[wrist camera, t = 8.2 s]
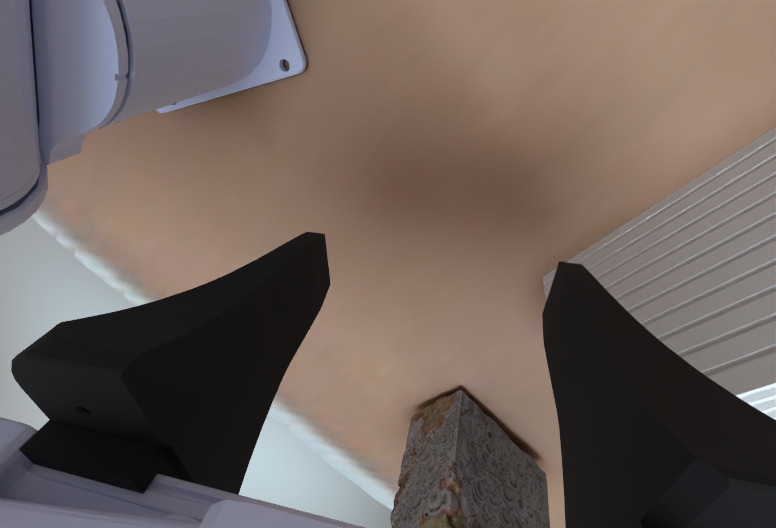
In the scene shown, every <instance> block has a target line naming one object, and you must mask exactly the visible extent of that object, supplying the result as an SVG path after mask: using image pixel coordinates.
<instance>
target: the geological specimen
mask: <svg viewBox="0 0 776 528" xmlns="http://www.w3.org/2000/svg"><path fill="white" fill-rule="evenodd" d="M398 485H399V487H400V488H399V491H398V492H397V494H396V495H395V499H394V508H393V511H392V513H391V524H392V528H550V521H549V507H548V491H547V479H546V473H544V472H543V471H542V470H541V469H540V468H539V466H538V465H537V464H536V463H535V461H534V460H533V458H532V457H531V456H530V455H528V454H526V453H525V452H523V451H521V450H520V448H519V447H518V446H516V445H515V444H514V443H513V442H512V441H511V439H510V438H509V437H508V436H507V434H506V433H505V432H504V431H503V429H501V428H500V427H499V425H498V424H497V423H496V422H495V421H494V420H493V419H492V418H490V417H488V416H487V415H485V414H484V413H483V412H482V410H481V408H480V407H479V406H478V405H477V404H475V403H474V402H473V401H472V400H471V399H469V397H468V396H467V395H466V394H465V393H464V392H463V391H462V390H459V391H456V392H455V393H454V394H452V395H450V396H446V397H441V398H440V399H438V400H437V401H435V403H434V404H430V405H429V406H428V407H426V408H424V409H422V410H421V411H420V412H418V413H417V414H415V415H414V416H413V417H412V419H411V424H410V428H409V433H408V438H407V444H406V450H405V452H404V455H403V460H402V465H401V473H400V477H399V481H398Z"/></svg>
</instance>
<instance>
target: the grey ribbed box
mask: <svg viewBox="0 0 776 528" xmlns="http://www.w3.org/2000/svg"><path fill="white" fill-rule="evenodd" d="M566 262H567V263H576V264H582V265H583V266H584V267H585V268H586V269H587V270H588V271H589V272H590V273H591V274H592V275H593V276H594V277H595V278H596V279H597V280H598V282H599V283H600V284H601V285H602V286H603V287H604V288H605V289H606V290H607V291H608V292H609V293H610V294H611V295H612V296H613V297H614V298H615V299H616V300H617V301H618V302H619V303H620V304H621V305H622V306H623V307H624V308H625V309H626V310H627V311H628V312H629V313H630V314H631V315H632V316H633V317H634V318H635V319H636V320H637V321H638V322H639V323H640V324H642V325H643V326H644V327H645V328H646V329H647V330H648V331H649V332H651V333H652V334H653V335H654V336H655V337H656V338H657V339H659V340H660V341H661V342H662V343H663V344H665V345H666V346H667V347H668V348H670V349H671V350H672V351H673V352H675V353H676V354H677V355H679V356H680V357H681V358H682V359H684V360H685V361H686V362H688V363H689V364H690V365H692V366H693V367H694V368H696V369H697V370H699V371H700V372H701V373H703V374H704V375H706V376H707V377H708V378H710V379H711V380H713V381H714V382H716V383H717V384H719V385H720V386H722V387H723V388H725V389H726V390H728V391H729V392H731V393H732V394H734V395H735V396H737V397H738V398H740V399H742V400H743V401H745V402H747V403H748V404H750V405H751V406H753V407H755V408H756V409H758V410H759V411H761V412H763V413H764V414H766V415H768V416H770V417H771V418H773V419H775V420H776V127H774V128H773V129H771V130H769V131H768V132H766V133H765V134H763V135H762V136H760V137H759V138H757V139H756V140H754V141H752V142H751V143H749V144H748V145H746V146H745V147H743V148H742V149H740V150H738V151H737V152H735V153H734V154H732V155H731V156H729V157H728V158H726V159H724V160H723V161H721V162H720V163H718V164H717V165H715V166H714V167H712V168H710V169H709V170H707V171H706V172H704V173H703V174H701V175H700V176H698V177H696V178H695V179H693V180H692V181H690V182H689V183H687V184H686V185H684V186H683V187H681V188H679V189H678V190H676V191H675V192H673V193H672V194H670V195H669V196H667V197H665V198H664V199H662V200H661V201H659V202H658V203H656V204H655V205H653V206H651V207H650V208H648V209H647V210H645V211H644V212H642V213H641V214H639V215H637V216H636V217H634V218H633V219H631V220H630V221H628V222H627V223H625V224H624V225H622V226H620V227H619V228H617V229H616V230H614V231H613V232H611V233H610V234H608V235H606V236H605V237H603V238H602V239H600V240H599V241H597V242H596V243H594V244H592V245H591V246H589V247H588V248H586V249H585V250H583V251H582V252H580V253H578V254H577V255H575V256H574V257H572V258H571V259H569V260H568V261H566ZM556 270H557V268H555V269H554V270H552V271H551V272H549V273H547V274H546V275H544V276H543V277H542V280H543V284H544V285H545V286H544V291H545V295H546V296H547V297H546V301H547V298H548V295H549V292H550V289H551V286H552V282H553V279H554V276H555V273H556Z"/></svg>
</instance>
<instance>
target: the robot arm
mask: <svg viewBox="0 0 776 528" xmlns="http://www.w3.org/2000/svg"><path fill="white" fill-rule="evenodd" d="M284 59H285V60H287V61H288V62H289V65H290V68H289V70H287V69H285V68H284V66H283V61H284ZM306 64H307V63H306V58H305V55H304V52H303V49H302V46H301V43H300V40H299V37H298V34H297V31H296V28H295V25H294V22H293V19H292V16H291V13H290V10H289V7H288V4H287V1H286V0H0V235H3V234H4V233H7V232H9V231H11V230H12V229H14V228H15V227H17V226H19V225H20V224H22V223H24V222H25V221H26V220H27V219H28V218H29V217H31V216H32V215H33V214H34V213H35V212H36V211H37V209H38V208H39V207H40V205H41V204H42V202H43V201H44V198H45V195H46V192H47V189H48V174H47V166H46V165H49V164H51V163H54V162H57V161H59V160H62V159H65V158H67V157H70V156H73V155H75V154H78V153H80V152H81V148H82V142H83V140H84V138H85V137H86V136H87V134H89V133H90V132H92V131H94V130H96V129H100V128H103V127H106V126H109V125H112V124H115V123H118V122H121V121H124V120H127V119H129V118H132V117H135V116H138V115H141V114H144V113H147V112H150V111H153V110H156V111H157V112H159V113H166V112H170V111H173V110H177V109H180V108H183V107H187V106H190V105H194V104H197V103H201V102H204V101H207V100H211V99H214V98H218V97H221V96H225V95H228V94H231V93H235V92H238V91H242V90H245V89H249V88H252V87H255V86H259V85H262V84H266V83H269V82H272V81H276V80H279V79H283V78H286V77H290V76H293V75H296V74H299V73H301V72H303V71H304V70H305V68H306ZM329 286H330V276H329V267H328V259H327V250H326V241H325V234H321V233H313V232H306V233H304V234H302V235H300V236H298V237H296V238H294V239H292V240H290V241H289V242H287V243H285V244H283V245H282V246H280V247H278V248H276V249H275V250H273V251H271V252H269V253H267V254H266V255H264V256H262V257H260V258H259V259H257V260H255V261H253V262H251V263H249V264H247V265H245V266H243V267H241V268H239V269H237V270H235V271H233V272H231V273H229V274H227V275H225V276H223V277H220V278H218V279H216V280H213V281H211V282H209V283H206V284H204V285H201V286H199V287H196V288H193V289H191V290H188V291H185V292H182V293H179V294H176V295H173V296H170V297H167V298H164V299H161V300H158V301H154V302H151V303H147V304H144V305H140V306H136V307H132V308H129V309H124V310H120V311H116V312H112V313H107V314H102V315H97V316H92V317H87V318H82V319H77V320H72V321H66V322H61V323H59V324H58V325H56V326H55V327H54V328H53V329H51V330H50V331H49V332H47V333H46V334H45V335H43V336H42V337H41V338H39V339H38V340H37V341H35V342H34V343H33V344H31V345H30V346H29V347H27V348H26V349H25V350H23V351H22V352H21V353H19V354H18V355H17V356H16V357H15V358H14V359H13V360H12V369H11V371H12V374H13V376H14V378H15V380H16V381H17V382H18V384H19V385H20V387H21V388H22V389H23V390H24V391H25V392H26V394H28V396H29V397H30V398H31V399H32V400H33V401H34V402H35V404H36V405H37V406H38V407H39V408H40V409H41V410H42V412H43V413H44V414H45V415H46V416H47V417H48V418H49V419H50V420H49V421H48V422H47V423H46V424H45V425H44V426H43V427H42V428H41V429H40V430H39V431H37V430H36V429H34V428H33V427H31V426H29V425H27V424H24V423H20V422H16V421H12V420H8V419H5V418H1V417H0V528H364V527H361V526H357V525H353V524H349V523H345V522H342V521H338V520H334V519H330V518H326V517H322V516H319V515H314V514H311V513H307V512H303V511H299V510H295V509H292V508H288V507H284V506H280V505H276V504H273V503H269V502H265V501H261V500H256V499H252V498H249V497H245V496H241V495H238V494H239V491H240V488H241V485H242V482H243V479H244V476H245V473H246V470H247V467H248V464H249V461H250V459H251V456H252V453H253V451H254V448H255V445H256V442H257V440H258V437H259V434H260V432H261V429H262V426H263V424H264V421H265V419H266V417H267V414H268V412H269V409H270V407H271V404H272V402H273V399H274V397H275V395H276V392H277V390H278V388H279V385H280V383H281V381H282V378H283V376H284V374H285V372H286V370H287V368H288V366H289V364H290V362H291V360H292V359H293V357H294V355H295V353H296V352H297V350H298V348H299V346H300V345H301V343H302V341H303V339H304V338H305V336H306V334H307V332H308V331H309V329H310V327H311V325H312V324H313V322H314V320H315V318H316V316H317V315H318V313H319V311H320V309H321V307H322V304H323V302H324V299H325V297H326V294H327V291H328V289H329ZM543 337H544V347H545V352H546V357H547V363H548V368H549V373H550V378H551V383H552V388H553V393H554V398H555V403H556V408H557V414H558V421H559V429H560V441H561V453H562V467H563V482H564V499H565V523H566V528H776V420H775V419H773V418H771V417H770V416H768V415H766V414H764V413H763V412H761V411H759V410H758V409H756V408H755V407H753V406H751V405H750V404H748V403H747V402H745V401H743V400H742V399H740V398H738V397H737V396H735V395H734V394H732V393H731V392H729V391H728V390H726V389H725V388H723V387H722V386H720V385H719V384H717V383H716V382H714V381H713V380H711V379H710V378H708V377H707V376H706V375H704V374H703V373H701V372H700V371H699V370H697V369H696V368H694V367H693V366H692V365H690V364H689V363H688V362H686V361H685V360H684V359H682V358H681V357H680V356H679V355H677V354H676V353H675V352H673V351H672V350H671V349H670V348H668V347H667V346H666V345H665V344H663V343H662V342H661V341H660V340H659V339H657V338H656V337H655V336H654V335H653V334H652V333H651V332H649V331H648V330H647V329H646V328H645V327H644V326H643V325H642V324H640V323H639V322H638V321H637V320H636V319H635V318H634V317H633V316H632V315H631V314H630V313H629V312H628V311H627V310H626V309H625V308H624V307H623V306H622V305H621V304H620V303H619V302H618V301H617V300H616V299H615V298H614V297H613V296H612V295H611V294H610V293H609V292H608V291H607V290H606V289H605V288H604V287H603V286H602V285H601V284H600V283H599V282H598V280H597V279H596V278H595V277H594V276H593V275H592V274H591V273H590V272H589V271H588V270H587V269H586V268H585V267H584V266H583V265H582V264H576V263H567V262H559V263H558V267H557V270H556V273H555V276H554V279H553V282H552V286H551V289H550V292H549V295H548V298H547V301H546V305H545V308H544V311H543Z"/></svg>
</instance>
